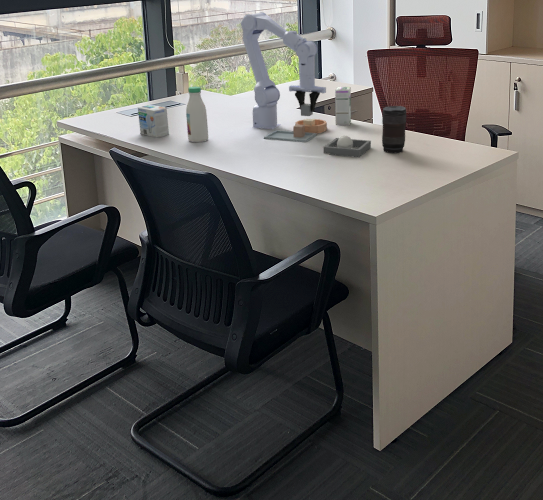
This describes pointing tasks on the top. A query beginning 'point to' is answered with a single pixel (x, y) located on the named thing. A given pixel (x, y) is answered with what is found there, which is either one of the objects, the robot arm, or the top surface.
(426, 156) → the top surface
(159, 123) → the light bulb box
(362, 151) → the grey square tray
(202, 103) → the milk bottle
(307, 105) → the plain grey cube
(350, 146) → the pale grey egg
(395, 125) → the camera lens
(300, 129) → the cardboard tan cube
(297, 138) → the parts tray
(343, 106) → the syrup box
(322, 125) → the bowl
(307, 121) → the cream matte cube
